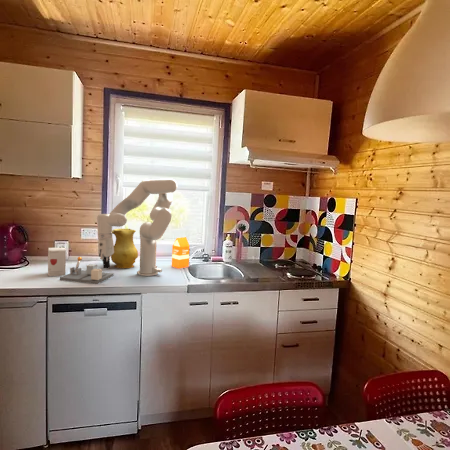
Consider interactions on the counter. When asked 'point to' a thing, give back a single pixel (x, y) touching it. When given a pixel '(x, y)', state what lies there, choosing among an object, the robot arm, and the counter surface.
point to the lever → (77, 264)
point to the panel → (84, 276)
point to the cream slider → (96, 274)
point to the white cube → (90, 268)
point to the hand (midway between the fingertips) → (106, 267)
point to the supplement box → (56, 261)
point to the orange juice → (180, 253)
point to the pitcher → (124, 248)
